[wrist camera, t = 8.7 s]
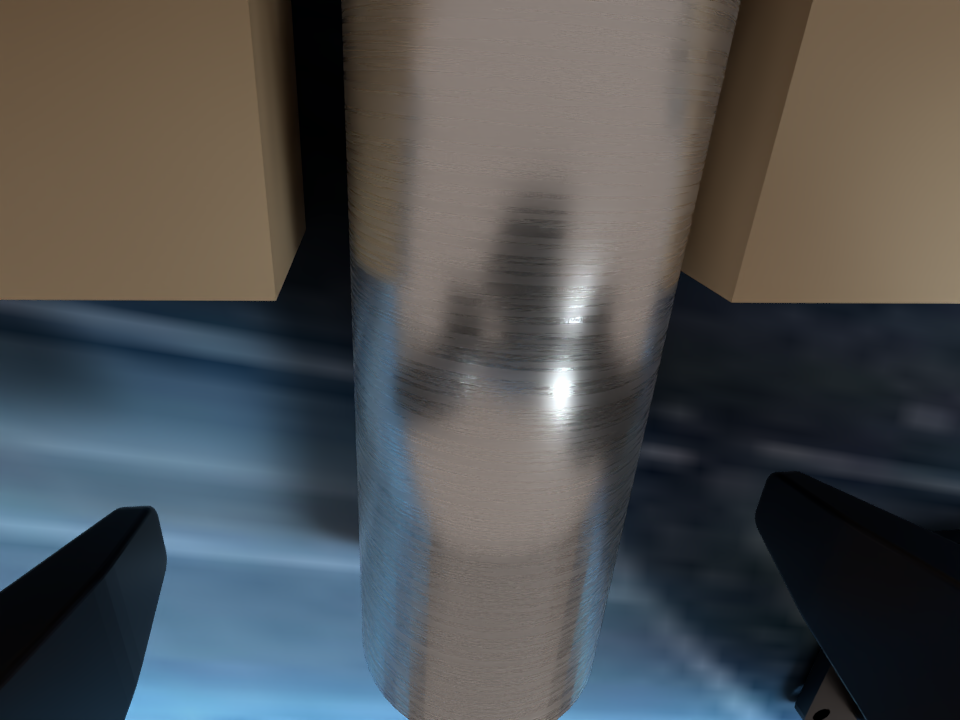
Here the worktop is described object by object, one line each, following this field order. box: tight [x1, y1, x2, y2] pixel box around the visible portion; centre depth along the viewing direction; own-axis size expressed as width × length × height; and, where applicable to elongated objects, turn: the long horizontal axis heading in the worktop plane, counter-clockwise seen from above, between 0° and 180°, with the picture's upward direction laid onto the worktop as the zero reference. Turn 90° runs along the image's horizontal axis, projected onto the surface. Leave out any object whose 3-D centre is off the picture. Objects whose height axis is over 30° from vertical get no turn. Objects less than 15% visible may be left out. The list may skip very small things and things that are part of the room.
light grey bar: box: [341, 0, 741, 720], centre depth 7 cm, size 12×4×4 cm, turn 176°
